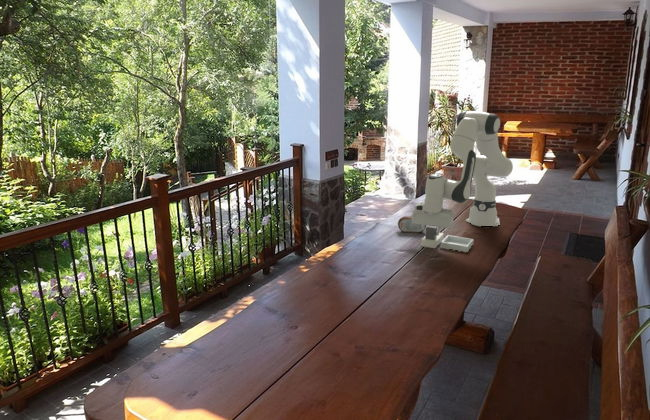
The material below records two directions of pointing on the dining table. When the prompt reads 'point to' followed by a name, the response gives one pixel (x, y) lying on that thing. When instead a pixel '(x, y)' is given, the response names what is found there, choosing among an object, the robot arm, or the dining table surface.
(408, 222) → the tin
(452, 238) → the tray
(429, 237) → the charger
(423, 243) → the power strip
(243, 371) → the dining table surface
